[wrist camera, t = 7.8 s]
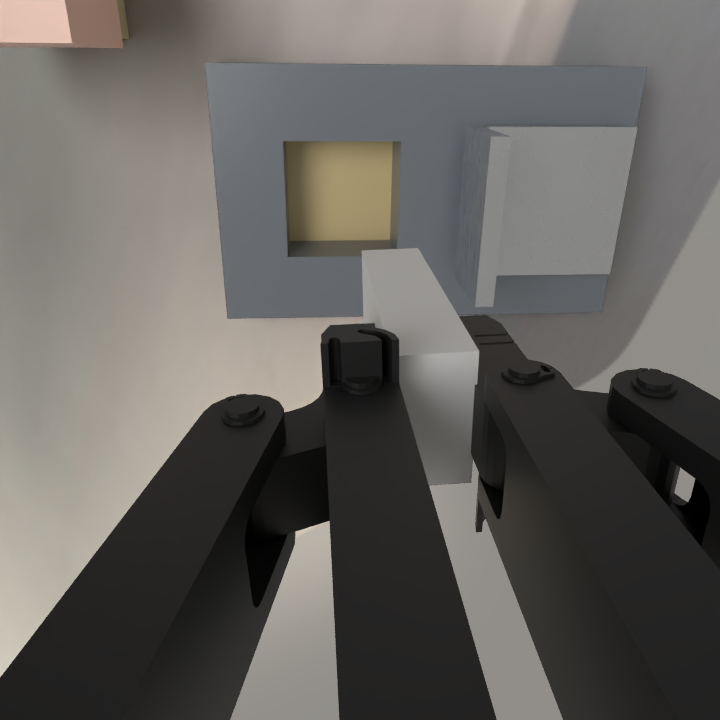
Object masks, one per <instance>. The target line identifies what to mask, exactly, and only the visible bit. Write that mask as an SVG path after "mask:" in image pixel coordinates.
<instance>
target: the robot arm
mask: <svg viewBox="0 0 720 720" xmlns="http://www.w3.org/2000/svg"><path fill="white" fill-rule="evenodd" d="M362 283H363V320H364V324H346V325H330V326H329V327H328V328H327V329H326V330H325V331H324V333H323V334H322V335H321V340H322V342H321V360H322V377H323V392H322V394H321V395H320V397H319V398H318V399H316V400H315V401H314V402H313V403H311V404H309V405H307V406H305V407H302V408H299V409H296V410H293V411H289V412H285V413H284V408H283V407H282V405H281V404H280V403H279V401H277V400H275V399H273V398H271V397H268V396H262V395H256V394H254V395H247V394H240V395H236V396H230V397H227V398H225V399H223V400H221V401H219V402H216V403H214V404H212V405H211V406H210V407H209V408H208V409H206V410H205V411H204V412H203V413H202V415H201V416H200V417H199V419H198V420H197V421H196V423H195V424H194V425H193V427H192V428H191V429H190V430H189V432H188V433H187V434H186V436H185V437H184V438H183V440H182V441H181V442H180V444H179V445H178V446H177V447H176V449H175V450H174V451H173V453H172V454H171V455H170V457H169V458H168V459H167V461H166V462H165V463H164V464H163V466H162V467H161V468H160V470H159V471H158V472H157V474H156V475H155V476H154V478H153V479H152V480H151V481H150V483H149V484H148V485H147V487H146V488H145V489H144V491H143V492H142V493H141V494H140V496H139V497H138V498H137V500H136V501H135V502H134V504H133V505H132V506H131V508H130V509H129V510H128V511H127V513H126V514H125V515H124V517H123V518H122V519H121V521H120V522H119V523H118V525H117V526H116V527H115V528H114V530H113V531H112V532H111V534H110V535H109V536H108V538H107V539H106V540H105V542H104V543H103V544H102V545H101V547H100V548H99V549H98V551H97V552H96V553H95V555H94V556H93V557H92V559H91V560H90V561H89V562H88V564H87V565H86V566H85V568H84V569H83V570H82V572H81V573H80V574H79V576H78V577H77V578H76V579H75V581H74V582H73V583H72V585H71V586H70V587H69V589H68V590H67V591H66V592H65V594H64V595H63V596H62V598H61V599H60V600H59V602H58V603H57V604H56V606H55V607H54V608H53V609H52V611H51V612H50V613H49V615H48V616H47V617H46V619H45V620H44V621H43V623H42V624H41V625H40V626H39V628H38V629H37V630H36V632H35V633H34V634H33V636H32V637H31V638H30V640H29V641H28V642H27V643H26V645H25V646H24V647H23V649H22V650H21V651H20V653H19V654H18V655H17V657H16V658H15V659H14V660H13V662H12V663H11V664H10V666H9V667H8V668H7V670H6V671H5V672H4V673H3V675H2V676H1V677H0V720H230V718H231V716H232V713H233V710H234V707H235V705H236V702H237V699H238V697H239V694H240V691H241V688H242V686H243V683H244V680H245V678H246V675H247V672H248V669H249V666H250V664H251V661H252V659H253V656H254V653H255V650H256V648H257V645H258V642H259V639H260V637H261V634H262V631H263V628H264V626H265V623H266V621H267V618H268V615H269V612H270V610H271V607H272V604H273V602H274V599H275V596H276V593H277V591H278V588H279V585H280V583H281V580H282V577H283V575H284V572H285V569H286V566H287V564H288V561H289V558H290V555H291V553H292V550H293V547H294V544H295V531H298V530H301V529H305V528H308V527H311V526H314V525H317V524H320V523H324V522H327V521H330V534H331V535H330V536H331V557H332V575H333V576H332V577H333V598H334V618H335V638H336V658H337V678H338V699H339V719H340V720H496V716H495V713H494V709H493V706H492V702H491V699H490V696H489V692H488V688H487V685H486V682H485V678H484V675H483V671H482V668H481V664H480V661H479V657H478V654H477V650H476V647H475V643H474V640H473V637H472V633H471V630H470V626H469V623H468V619H467V616H466V613H465V609H464V605H463V602H462V598H461V595H460V591H459V588H458V585H457V581H456V578H455V574H454V571H453V567H452V564H451V560H450V557H449V554H448V550H447V546H446V543H445V540H444V536H443V533H442V529H441V526H440V522H439V519H438V516H437V512H436V508H435V505H434V501H433V498H432V495H431V491H430V488H429V485H442V484H458V483H471V478H472V462H473V459H474V462H475V464H476V467H477V469H478V471H479V478H478V493H477V508H476V522H475V525H476V532H482V523H483V521H484V520H485V519H486V520H487V523H488V525H489V528H490V531H491V533H492V536H493V538H494V541H495V543H496V546H497V548H498V551H499V554H500V556H501V559H502V562H503V564H504V567H505V570H506V572H507V575H508V577H509V580H510V583H511V585H512V588H513V590H514V593H515V596H516V598H517V601H518V603H519V606H520V609H521V611H522V614H523V616H524V619H525V621H526V624H527V627H528V629H529V632H530V635H531V637H532V640H533V642H534V645H535V648H536V650H537V652H538V655H539V658H540V660H541V663H542V666H543V668H544V671H545V674H546V676H547V679H548V681H549V684H550V686H551V689H552V692H553V694H554V697H555V700H556V702H557V705H558V707H559V710H560V713H561V715H562V718H563V720H720V400H719V399H717V398H716V397H714V396H712V395H710V394H709V393H707V392H705V391H703V390H701V389H700V388H698V387H696V386H695V385H693V384H691V383H689V382H688V381H686V380H684V379H681V378H679V377H677V376H674V375H672V374H668V373H664V372H662V371H660V370H657V369H650V370H648V369H646V368H640V369H637V370H626V371H623V372H620V373H617V374H616V375H615V376H614V377H613V378H612V379H611V384H610V390H609V393H599V392H589V391H580V390H574V389H573V388H572V386H571V385H570V384H569V383H568V382H567V380H566V379H565V378H564V377H563V375H562V374H561V373H560V372H559V371H557V370H556V369H555V368H554V367H552V366H550V365H548V364H544V363H542V362H538V361H532V360H528V359H527V358H526V357H525V355H524V354H523V353H522V351H521V350H520V349H519V347H518V346H517V344H516V343H514V340H513V339H512V338H511V336H510V335H508V332H507V331H506V330H505V328H504V327H503V326H502V324H501V323H499V322H497V321H495V320H493V319H492V318H490V317H488V316H486V315H482V316H464V317H459V316H458V314H457V313H456V311H455V309H454V308H453V306H452V304H451V303H450V301H449V299H448V298H447V296H446V294H445V293H444V291H443V289H442V288H441V286H440V284H439V282H438V281H437V279H436V277H435V276H434V274H433V272H432V271H431V269H430V267H429V266H428V264H427V262H426V261H425V259H424V257H423V256H422V254H421V252H420V250H419V249H418V248H406V249H385V250H364V251H362ZM680 467H681V468H682V469H683V470H685V471H686V472H687V473H689V474H690V475H692V476H693V477H694V478H696V479H695V483H694V487H693V491H692V495H691V498H690V500H689V502H686V501H684V500H683V499H681V498H680V497H679V496H677V495H676V494H675V493H674V491H675V487H676V483H677V479H678V474H679V470H680Z"/></svg>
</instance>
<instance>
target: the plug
mask: <svg viewBox="0 0 720 720" xmlns="http://www.w3.org/2000/svg"><path fill="white" fill-rule="evenodd" d="M122 39H129V33H128V25H127V18H126V10H125V3H124V0H0V47H62V48H123V41H122Z"/></svg>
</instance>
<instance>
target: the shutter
mask: <svg viewBox="0 0 720 720" xmlns="http://www.w3.org/2000/svg"><path fill="white" fill-rule="evenodd" d="M637 128H638V127H634V126H579V125H483V127H466V130H465V143H464V156H463V169H462V182H461V195H460V208H459V221H458V234H457V247H456V260H455V274H454V276H455V278H456V279H457V281H458V282H459V284H460V285H461V287H462V288H463V290H464V291H465V293H466V294H467V296H468V297H469V299H470V300H471V302H472V303H473V305H474V306H475V307H493V304H494V295H495V285H496V276H499V275H577V274H610V272H611V266H612V261H613V256H614V251H615V245H616V240H617V235H618V229H619V224H620V219H621V213H622V208H623V203H624V197H625V192H626V187H627V181H628V176H629V171H630V165H631V160H632V155H633V150H634V144H635V139H636V134H637Z"/></svg>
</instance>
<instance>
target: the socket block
mask: <svg viewBox="0 0 720 720" xmlns="http://www.w3.org/2000/svg"><path fill="white" fill-rule="evenodd" d="M205 71H206V82H207V94H208V105H209V116H210V127H211V138H212V150H213V161H214V172H215V183H216V195H217V206H218V217H219V228H220V240H221V251H222V262H223V273H224V285H225V296H226V307H227V318H228V319H238V318H297V317H356V316H363V283H362V251H364V250H385V249H406V248H418V249H419V250H420V252H421V254H422V256H423V257H424V259H425V261H426V262H427V264H428V266H429V267H430V269H431V271H432V272H433V274H434V276H435V277H436V279H437V281H438V282H439V284H440V286H441V288H442V289H443V291H444V293H445V294H446V296H447V298H448V299H449V301H450V303H451V304H452V306H453V308H454V309H455V311H456V313H457V314H458V315H474V314H533V313H592V312H602V307H603V301H604V296H605V291H606V285H607V280H608V275H609V274H577V275H499V276H496V285H495V295H494V304H493V307H475V306H474V305H473V303H472V302H471V300H470V299H469V297H468V296H467V294H466V293H465V291H464V290H463V288H462V287H461V285H460V284H459V282H458V281H457V279H456V278H455V276H454V274H455V260H456V247H457V234H458V221H459V208H460V195H461V182H462V169H463V156H464V143H465V130H466V127H483V125H579V126H634V127H636V125H637V120H638V114H639V109H640V104H641V98H642V93H643V88H644V82H645V77H646V72H647V67H597V66H494V65H391V64H288V63H205Z"/></svg>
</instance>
